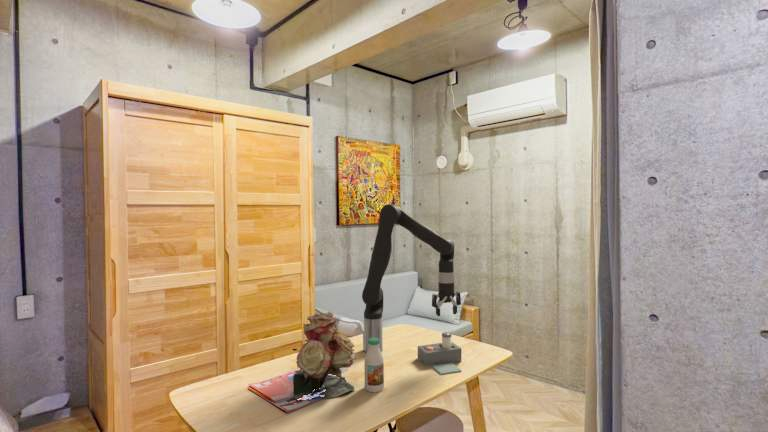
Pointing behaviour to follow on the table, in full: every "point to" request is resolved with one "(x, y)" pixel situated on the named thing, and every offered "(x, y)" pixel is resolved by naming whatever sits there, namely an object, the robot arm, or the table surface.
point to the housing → (439, 354)
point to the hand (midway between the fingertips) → (446, 315)
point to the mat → (446, 368)
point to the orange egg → (429, 348)
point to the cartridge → (446, 340)
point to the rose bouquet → (323, 359)
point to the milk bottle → (374, 367)
